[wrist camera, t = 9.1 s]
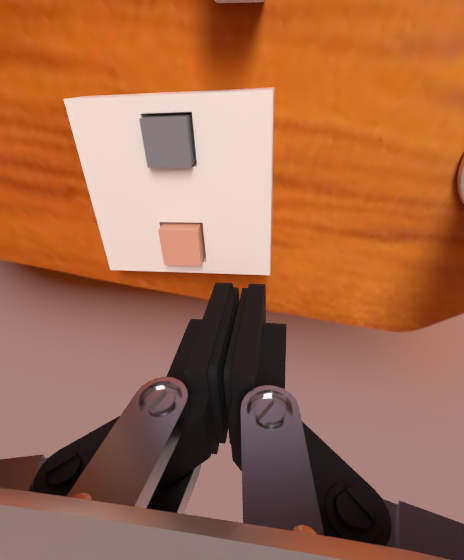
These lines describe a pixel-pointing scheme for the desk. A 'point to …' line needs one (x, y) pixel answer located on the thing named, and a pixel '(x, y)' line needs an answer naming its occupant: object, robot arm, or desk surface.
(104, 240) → the key console
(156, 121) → the grey key
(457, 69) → the desk surface
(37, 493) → the robot arm
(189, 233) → the terracotta key
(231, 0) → the medicine box
